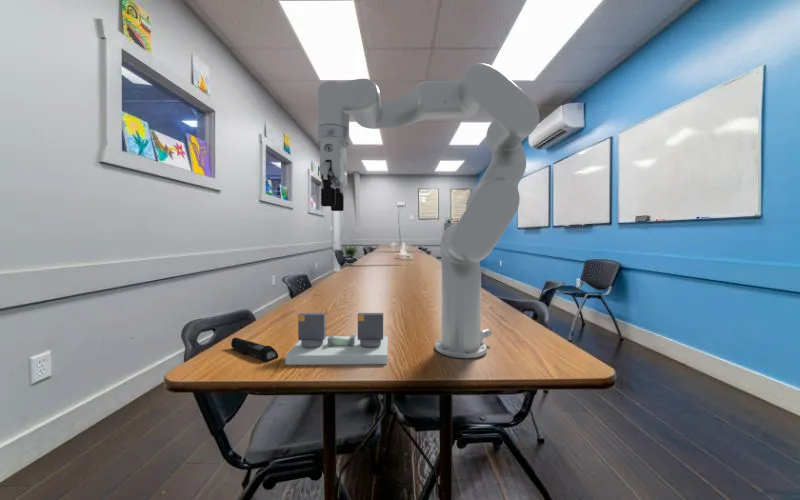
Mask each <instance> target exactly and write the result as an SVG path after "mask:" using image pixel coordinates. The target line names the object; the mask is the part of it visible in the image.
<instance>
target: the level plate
mask: <svg viewBox="0 0 800 500" xmlns="http://www.w3.org/2000/svg"><path fill="white" fill-rule="evenodd" d="M388 339H389V336H388V335H386V336H385V335H383V340H381V345H379V346H376V347H363V346H361V345H360V340H358V335H356V336H355V334H351V335H350V336H348V335H347V336H345V335H344V336H341V335H340V336H338V335H337V336H336V335H334V334H329V335H326V338H325V339H324V340H323V344H322V345H320V346H317V347H311V348H307V347H303V346H301V340H298V342H297V343H296V344H295V345H294V346H293V347H292V348H291V349H290V350H289V351H288V352H287V353H286V354H285V359H284V361H285V365H286V366H290V365H291V366H293V365H295V366H296V365H298V366H299V365H301V366H302V365H303V366H305V365H307V366H309V365H311V366H315V365H316V366H317V365H320V366H321V365H388V348H389V346H388V345H389V340H388Z"/></svg>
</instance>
